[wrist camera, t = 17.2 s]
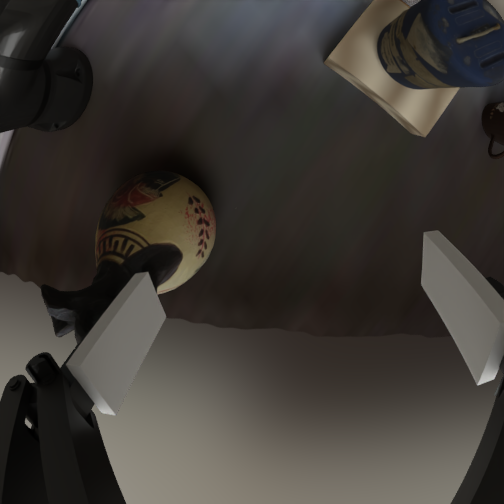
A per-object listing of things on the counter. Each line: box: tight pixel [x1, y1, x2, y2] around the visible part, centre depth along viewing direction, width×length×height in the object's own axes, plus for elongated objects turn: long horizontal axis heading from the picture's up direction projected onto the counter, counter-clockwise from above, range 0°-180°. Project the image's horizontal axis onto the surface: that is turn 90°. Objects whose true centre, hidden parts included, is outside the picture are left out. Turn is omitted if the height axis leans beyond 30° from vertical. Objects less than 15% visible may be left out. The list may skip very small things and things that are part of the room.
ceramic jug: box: [40, 171, 216, 344], centre depth 34 cm, size 17×15×30 cm
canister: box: [377, 0, 504, 90], centre depth 21 cm, size 10×10×18 cm
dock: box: [324, 0, 460, 137], centre depth 31 cm, size 16×14×5 cm
